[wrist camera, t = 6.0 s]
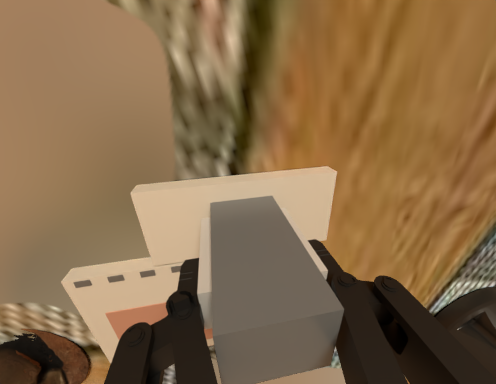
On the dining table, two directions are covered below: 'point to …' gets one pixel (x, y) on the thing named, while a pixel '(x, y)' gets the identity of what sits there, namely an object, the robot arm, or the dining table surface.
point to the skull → (42, 360)
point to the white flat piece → (122, 297)
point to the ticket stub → (253, 265)
